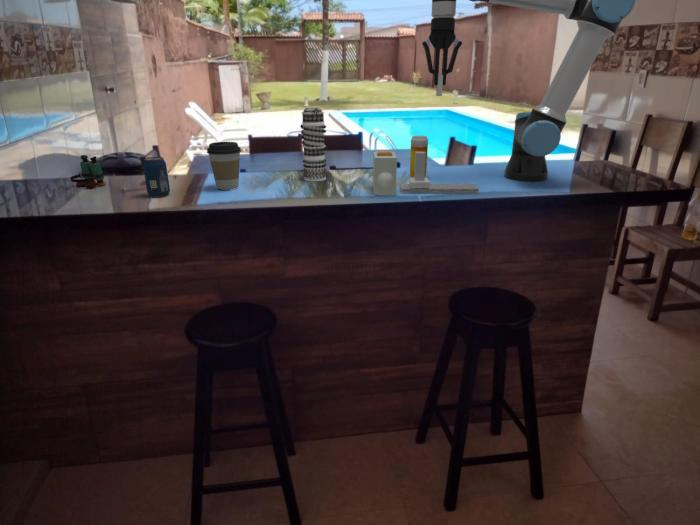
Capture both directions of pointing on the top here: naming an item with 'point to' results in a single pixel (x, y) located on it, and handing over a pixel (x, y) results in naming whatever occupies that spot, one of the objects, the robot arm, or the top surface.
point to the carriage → (419, 172)
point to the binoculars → (89, 173)
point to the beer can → (418, 146)
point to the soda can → (156, 177)
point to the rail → (440, 188)
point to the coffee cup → (225, 164)
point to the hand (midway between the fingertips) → (439, 95)
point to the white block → (384, 174)
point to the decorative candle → (313, 144)
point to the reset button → (384, 152)
